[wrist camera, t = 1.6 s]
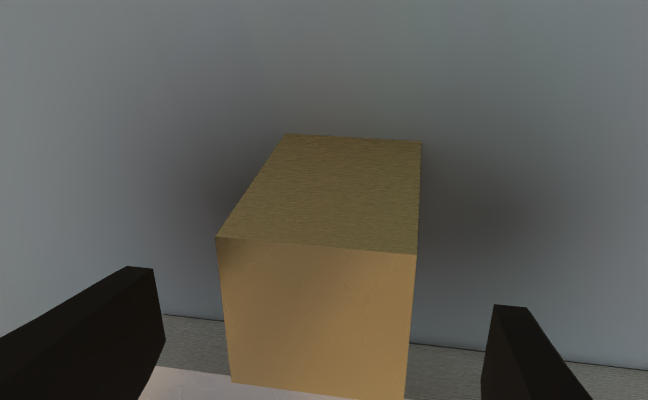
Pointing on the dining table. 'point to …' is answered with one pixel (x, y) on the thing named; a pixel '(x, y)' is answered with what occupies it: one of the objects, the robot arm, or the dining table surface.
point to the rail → (420, 396)
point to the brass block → (324, 268)
